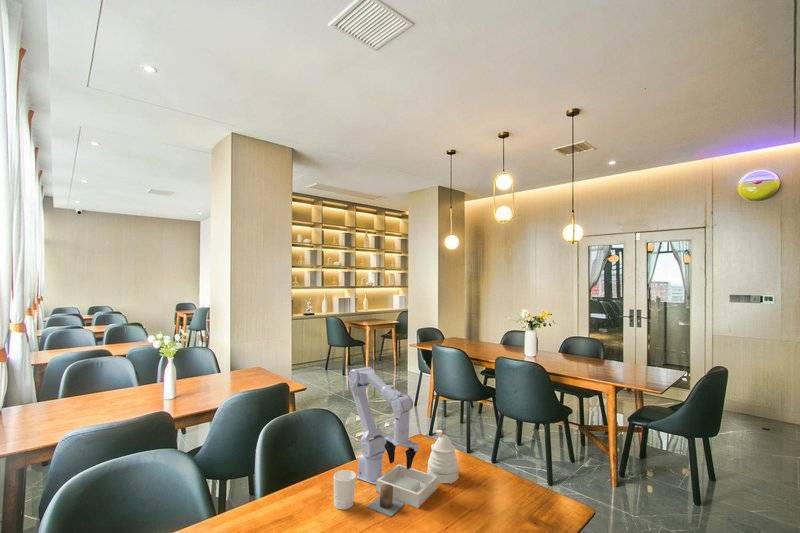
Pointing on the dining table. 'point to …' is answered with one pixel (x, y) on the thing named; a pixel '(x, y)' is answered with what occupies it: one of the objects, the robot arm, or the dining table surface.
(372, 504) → the slate pad
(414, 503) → the grey crate
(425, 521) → the dining table surface
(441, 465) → the honey pot
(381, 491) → the walnut cylinder
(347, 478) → the white cup
